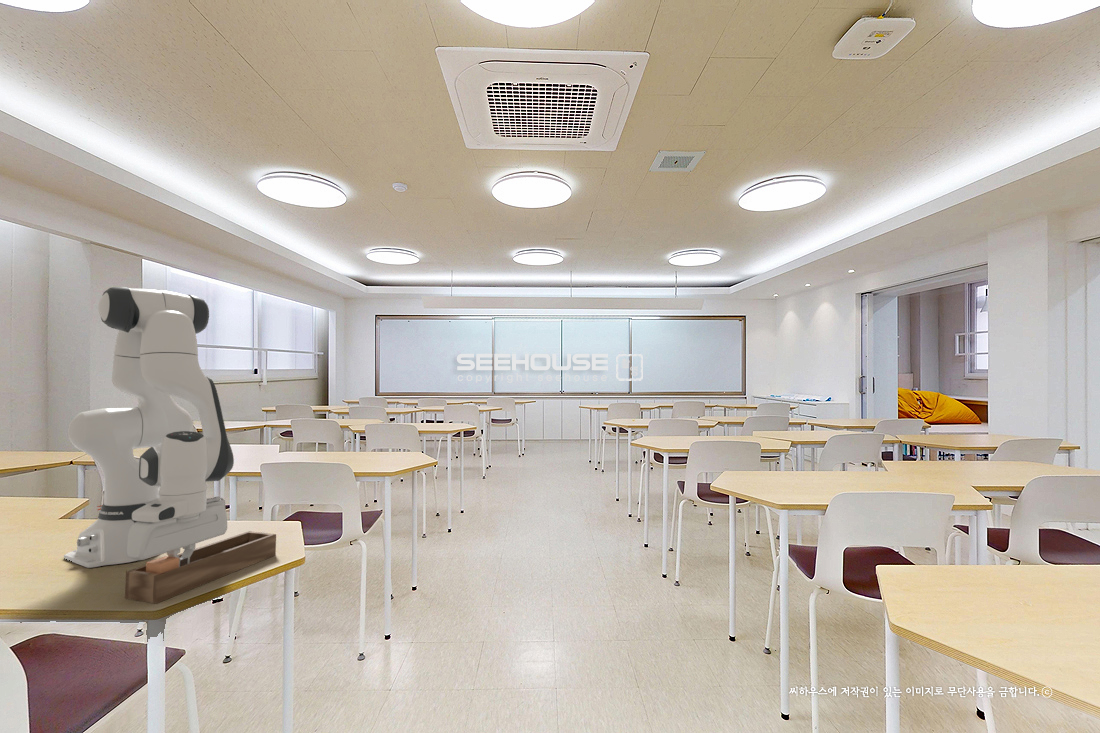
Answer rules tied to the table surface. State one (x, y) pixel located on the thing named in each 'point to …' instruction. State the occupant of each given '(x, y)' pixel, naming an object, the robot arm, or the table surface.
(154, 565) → the block
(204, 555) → the box
